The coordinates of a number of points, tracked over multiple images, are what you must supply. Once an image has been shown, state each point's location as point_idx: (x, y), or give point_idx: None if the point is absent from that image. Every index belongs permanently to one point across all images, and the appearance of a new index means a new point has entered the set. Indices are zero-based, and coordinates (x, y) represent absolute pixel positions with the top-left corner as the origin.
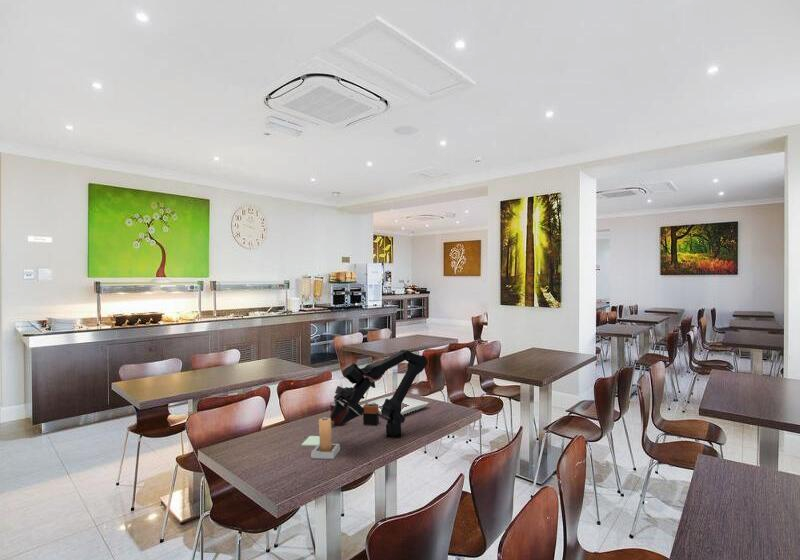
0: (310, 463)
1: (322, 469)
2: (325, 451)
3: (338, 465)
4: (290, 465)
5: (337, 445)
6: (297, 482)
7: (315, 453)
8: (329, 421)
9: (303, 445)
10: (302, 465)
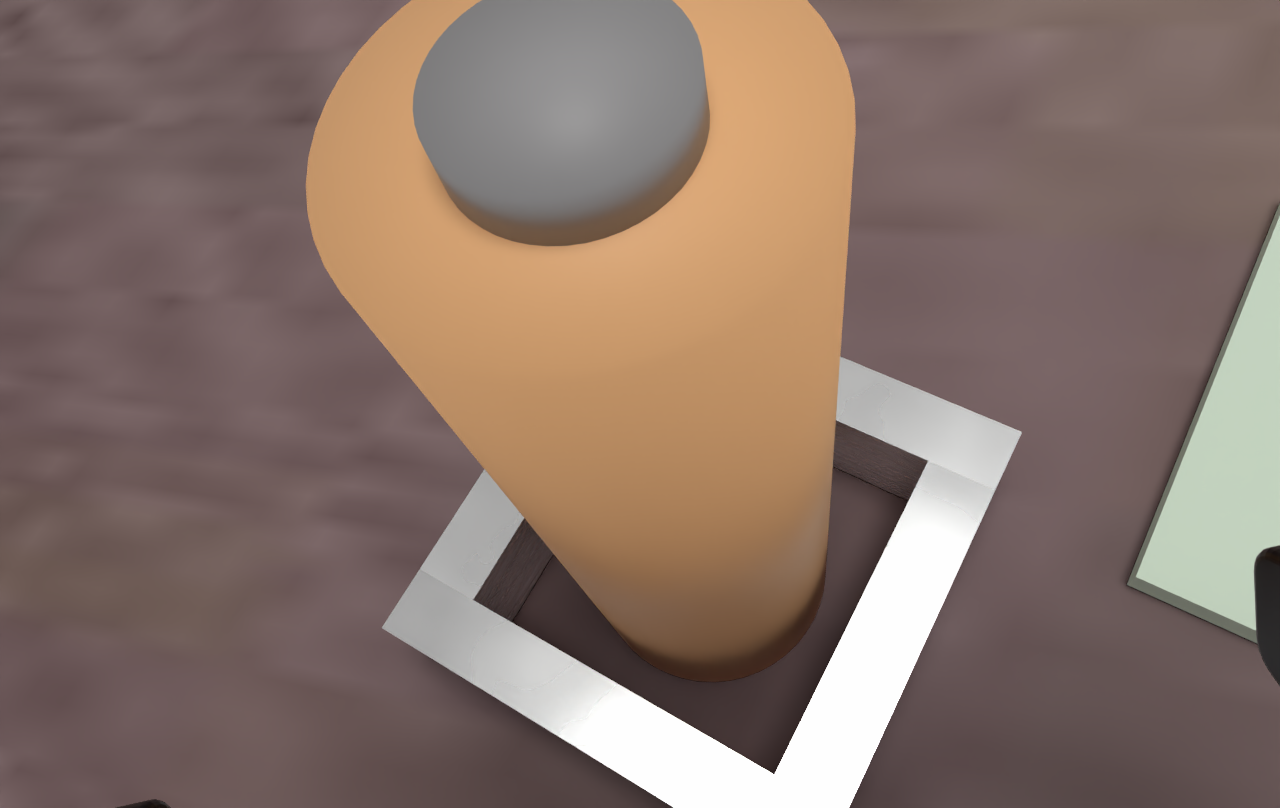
0: None
1: (164, 428)
2: None
3: (138, 684)
4: None
5: (720, 803)
6: (33, 136)
7: None
8: (366, 322)
9: (1271, 229)
10: None
